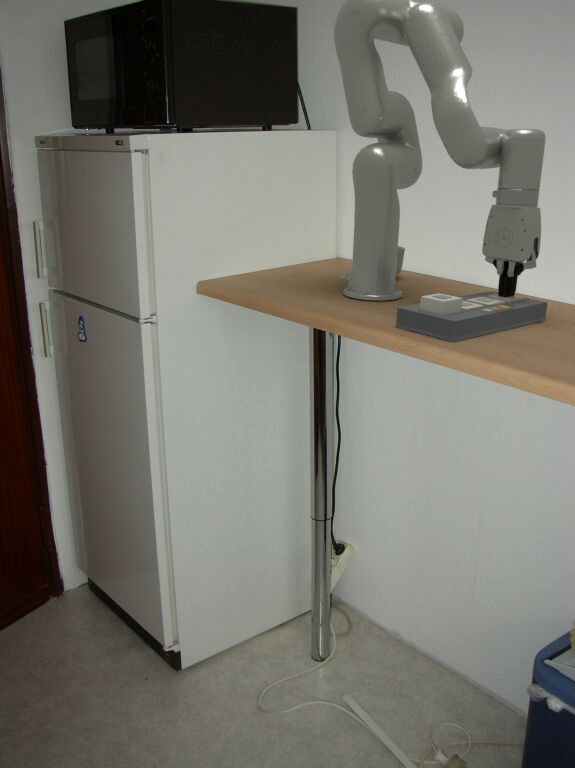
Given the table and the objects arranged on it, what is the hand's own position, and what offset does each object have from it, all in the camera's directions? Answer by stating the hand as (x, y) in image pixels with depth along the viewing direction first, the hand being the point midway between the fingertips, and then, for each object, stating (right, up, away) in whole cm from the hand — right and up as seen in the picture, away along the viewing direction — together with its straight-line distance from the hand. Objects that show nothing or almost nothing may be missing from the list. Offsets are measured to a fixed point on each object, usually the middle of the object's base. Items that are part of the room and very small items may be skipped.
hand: (506, 295), depth 148 cm
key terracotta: (-10, -5, -7) cm, 13 cm away
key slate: (-15, -5, -12) cm, 20 cm away
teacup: (-21, +8, +38) cm, 44 cm away
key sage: (-5, -4, -3) cm, 7 cm away
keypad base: (-8, -6, -5) cm, 11 cm away
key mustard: (0, -3, +1) cm, 3 cm away
